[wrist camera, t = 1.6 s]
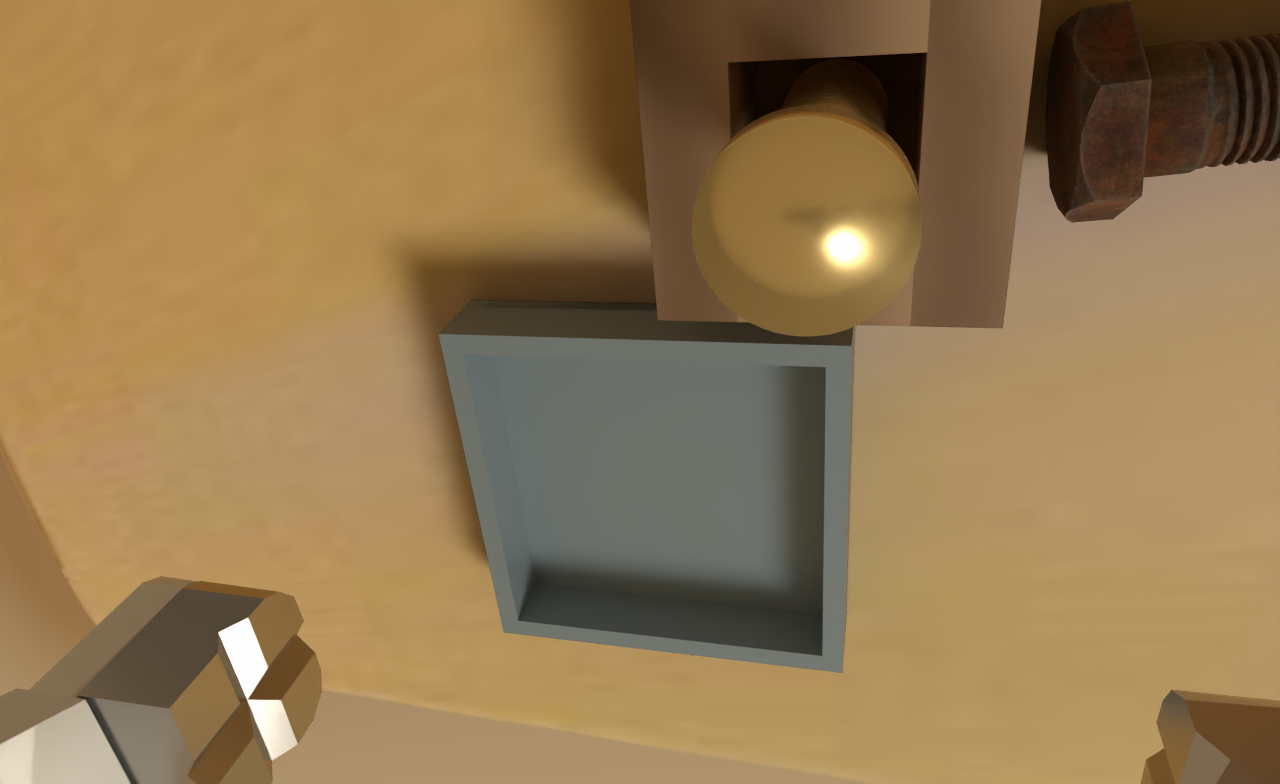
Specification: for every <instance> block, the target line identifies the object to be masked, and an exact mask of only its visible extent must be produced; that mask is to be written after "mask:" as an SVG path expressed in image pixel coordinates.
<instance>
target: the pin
mask: <svg viewBox="0 0 1280 784" xmlns="http://www.w3.org/2000/svg"><path fill="white" fill-rule="evenodd" d="M887 114H888V103H887V97H886V94H885V90H884V88H883V86H882V84H881V82H880V81H879V79H878V78H877V77H876V76H875V74H874V73H873V72H871V71H870V70H869V69H868V68H866V67H865V66H863V65H861V64H859V63H857V62H854V61H850V60H845V59H833V60H827V61H823V62H820V63H818V64H815V65H813V66H812V67H810V68H808V69H807V70H806V71H804V72H803V73H802V74H801V75H800V76H799V77H798V78H797V79H796V81H795V82H794V83H793V85H792V87H791V88H790V90H789V92H788V94H787V96H786V98H785V100H784V102H783V104H782V107H781V109H780V110H777V111H775V112H772V113H769V114H767V115H764V116H762V117H761V118H759V119H757V120H755V121H753V122H751V123H750V124H749V125H747V126H746V127H744V128H743V129H742V130H740V131H739V132H738V133H737V134H736V135H735V136H734V137H733V138H732V139H731V140H730V141H729V142H728V143H727V144H726V145H725V147H724V148H723V149H722V150H721V152H720V153H719V155H718V156H717V158H716V159H715V161H714V163H713V164H712V166H711V167H710V169H709V171H708V172H707V174H706V176H705V177H704V179H703V181H702V183H701V186H700V188H699V190H698V192H697V196H696V199H695V203H694V206H693V213H692V220H691V235H692V242H693V249H694V253H695V256H696V260H697V263H698V265H699V268H700V270H701V273H702V275H703V276H704V278H705V280H706V282H707V283H708V285H709V287H710V288H711V289H712V291H713V292H714V293H715V294H716V296H717V297H718V298H719V299H720V300H721V301H722V302H723V303H724V304H725V305H726V306H727V307H728V308H729V309H731V310H732V311H733V312H734V313H736V314H737V315H738V316H740V317H741V318H743V319H745V320H746V321H748V322H750V323H752V324H754V325H756V326H758V327H760V328H763V329H766V330H769V331H772V332H775V333H780V334H785V335H790V336H802V337H806V336H822V335H828V334H833V333H837V332H841V331H844V330H847V329H850V328H852V327H854V326H857V325H859V324H861V323H863V322H865V321H866V320H868V319H870V318H872V317H873V316H874V315H876V314H877V313H878V312H880V311H881V310H883V309H884V308H885V307H886V306H887V305H888V304H889V303H890V302H891V301H892V300H893V299H894V298H895V297H896V295H897V294H898V293H899V292H900V291H901V289H902V288H903V286H904V285H905V283H906V282H907V280H908V278H909V277H910V275H911V272H912V270H913V268H914V266H915V263H916V260H917V257H918V253H919V250H920V244H921V236H922V215H921V200H920V193H919V187H918V183H917V180H916V177H915V173H914V171H913V169H912V167H911V165H910V162H909V160H908V159H907V157H906V156H905V154H904V153H903V151H902V149H901V148H900V147H899V146H898V144H897V143H896V142H895V141H894V140H893V139H892V138H891V136H889V135H888V134H887Z"/></svg>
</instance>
